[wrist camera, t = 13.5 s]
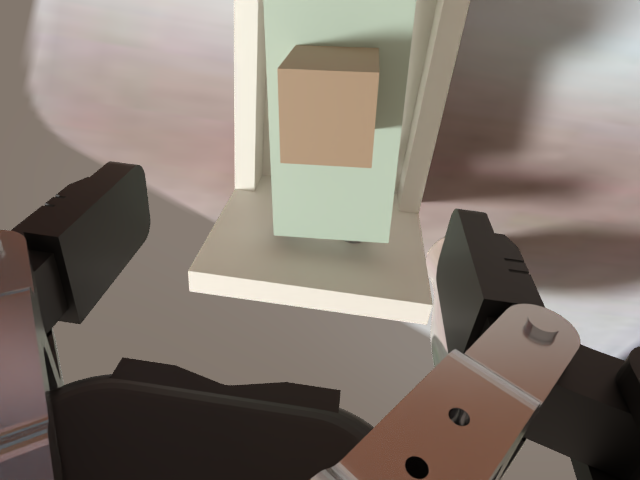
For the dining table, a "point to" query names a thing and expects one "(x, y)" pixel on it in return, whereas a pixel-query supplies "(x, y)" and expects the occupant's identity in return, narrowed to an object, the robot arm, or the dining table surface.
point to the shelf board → (336, 184)
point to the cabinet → (326, 254)
